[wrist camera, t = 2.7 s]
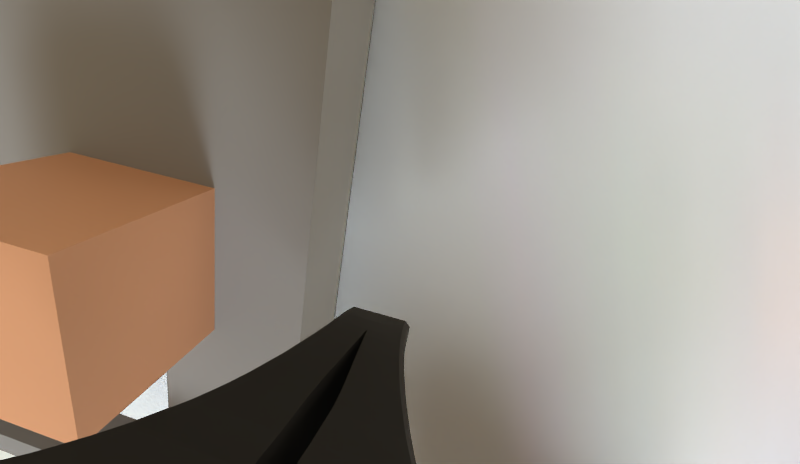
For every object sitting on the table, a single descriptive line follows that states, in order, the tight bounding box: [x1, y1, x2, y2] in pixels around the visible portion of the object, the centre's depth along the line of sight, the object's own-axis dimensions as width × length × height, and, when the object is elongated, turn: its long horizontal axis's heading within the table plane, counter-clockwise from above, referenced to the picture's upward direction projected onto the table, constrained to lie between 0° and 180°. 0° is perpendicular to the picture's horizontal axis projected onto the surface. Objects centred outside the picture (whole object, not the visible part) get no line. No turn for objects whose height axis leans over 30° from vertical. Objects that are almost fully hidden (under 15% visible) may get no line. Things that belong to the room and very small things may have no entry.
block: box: [0, 152, 215, 443], centre depth 10 cm, size 4×4×4 cm
